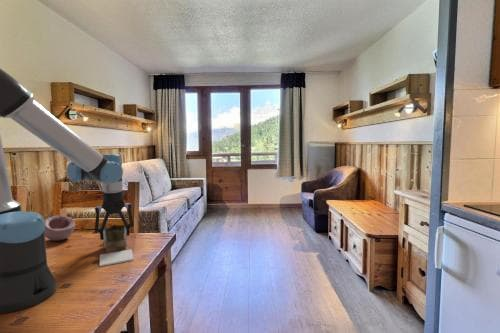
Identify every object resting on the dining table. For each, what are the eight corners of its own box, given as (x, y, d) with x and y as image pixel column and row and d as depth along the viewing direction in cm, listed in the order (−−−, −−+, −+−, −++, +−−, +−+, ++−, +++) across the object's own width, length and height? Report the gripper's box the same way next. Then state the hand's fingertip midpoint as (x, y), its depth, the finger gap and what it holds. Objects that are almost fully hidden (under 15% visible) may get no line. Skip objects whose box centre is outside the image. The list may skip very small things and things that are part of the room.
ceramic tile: (133, 260, 100) (133, 258, 99) (99, 266, 94) (99, 265, 94) (131, 250, 108) (131, 249, 108) (100, 256, 103) (100, 254, 103)
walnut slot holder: (123, 239, 122) (123, 230, 121) (125, 249, 109) (125, 240, 109) (106, 241, 118) (105, 232, 118) (106, 253, 106) (105, 243, 106)
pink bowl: (53, 246, 113) (51, 219, 112) (37, 242, 118) (35, 216, 117) (81, 237, 124) (80, 213, 123) (65, 233, 129) (64, 210, 128)
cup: (118, 241, 119) (117, 223, 118) (129, 244, 115) (128, 226, 114) (101, 246, 112) (100, 228, 112) (112, 250, 109) (111, 231, 108)
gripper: (137, 187, 120) (140, 238, 122) (85, 192, 110) (88, 246, 112) (139, 190, 113) (142, 243, 115) (83, 195, 104) (87, 252, 106)
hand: (115, 245), depth 114 cm, fingers open, 7 cm apart
